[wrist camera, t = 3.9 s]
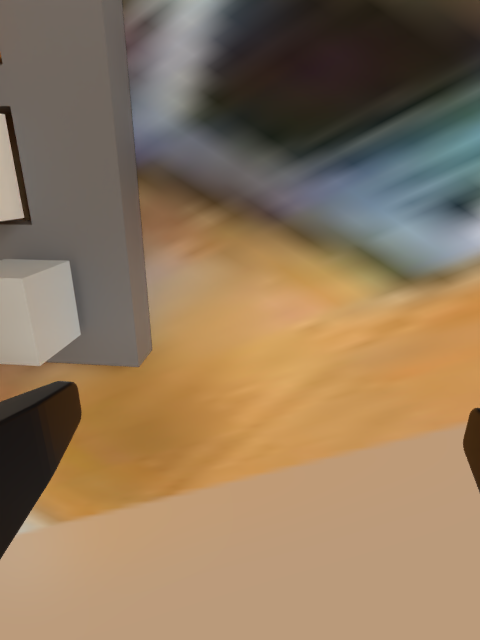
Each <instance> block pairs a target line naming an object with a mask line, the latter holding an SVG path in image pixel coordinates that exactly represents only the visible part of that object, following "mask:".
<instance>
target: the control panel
mask: <svg viewBox="0 0 480 640" xmlns="http://www.w3.org/2000/svg"><path fill="white" fill-rule="evenodd" d="M0 53H1V59H2V64H0V113H1V114H12V118H13V124H14V129H15V135H16V140H17V146H18V151H19V157H20V162H21V167H22V173H23V178H24V184H25V189H26V195H27V200H28V206H29V211H30V216H31V220H7V221H0V260H3V259H26V260H67V261H69V262H70V269H71V275H72V281H73V288H74V294H75V301H76V307H77V314H78V320H79V326H80V333H81V335H80V336H78V337H77V338H76V339H75V340H73V341H72V342H71V343H69V344H68V345H67V346H65V347H64V348H63V349H62V350H60V351H59V352H58V353H56V354H55V355H54V356H52V357H51V358H50V359H49V360H47V361H46V362H54V363H73V364H92V365H110V366H129V367H139V366H140V365H141V364H142V362H143V361H144V360H145V358H146V357H147V356H148V355H149V353H150V352H151V351H152V342H151V330H150V319H149V307H148V296H147V284H146V273H145V261H144V250H143V238H142V227H141V215H140V203H139V192H138V180H137V169H136V157H135V146H134V134H133V123H132V111H131V100H130V88H129V76H128V65H127V53H126V42H125V30H124V19H123V7H122V0H0Z"/></svg>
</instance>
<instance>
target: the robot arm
mask: <svg viewBox="0 0 480 640" xmlns="http://www.w3.org/2000/svg"><path fill="white" fill-rule="evenodd" d="M80 420H81V405H80V399H79V393H78V388H77V385H76V384H75V383H74V382H66V381H57V382H54V383H51V384H48V385H45V386H43V387H40V388H37V389H34V390H32V391H29V392H26V393H23V394H21V395H18V396H15V397H12V398H10V399H7V400H4V401H2V402H0V559H1V557H2V556H3V554H4V553H5V551H6V550H7V548H8V546H9V545H10V543H11V542H12V540H13V538H14V537H15V535H16V534H17V532H18V531H19V529H20V527H21V526H22V524H23V523H24V521H25V520H26V518H27V516H28V515H29V513H30V512H31V510H32V508H33V507H34V505H35V504H36V502H37V501H38V499H39V497H40V496H41V494H42V493H43V491H44V489H45V488H46V486H47V485H48V483H49V481H50V480H51V478H52V476H53V474H54V472H55V471H56V469H57V467H58V465H59V463H60V461H61V459H62V457H63V455H64V453H65V451H66V449H67V447H68V445H69V443H70V441H71V439H72V437H73V435H74V433H75V431H76V429H77V427H78V425H79V423H80ZM463 447H464V451H465V454H466V457H467V459H468V462H469V465H470V468H471V470H472V473H473V475H474V478H475V481H476V484H477V487H478V489H479V492H480V408H475V409H473V410H472V411H471V413H470V415H469V419H468V423H467V427H466V431H465V435H464V439H463Z"/></svg>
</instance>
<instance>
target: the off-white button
mask: <svg viewBox="0 0 480 640" xmlns="http://www.w3.org/2000/svg"><path fill="white" fill-rule="evenodd" d="M20 218H24V214H23V208H22V203H21V198H20V192H19V187H18V182H17V177H16V171H15V166H14V161H13V156H12V150H11V145H10V140H9V134H8V129H7V124H6V119H5V114H1V113H0V221H7V220H13V219H20Z"/></svg>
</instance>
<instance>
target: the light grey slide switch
mask: <svg viewBox="0 0 480 640" xmlns="http://www.w3.org/2000/svg"><path fill="white" fill-rule="evenodd" d="M80 335H81V333H80V326H79V320H78V314H77V307H76V301H75V294H74V288H73V281H72V275H71V269H70V262H69V261H67V260H26V259H3V260H0V364H11V365H30V366H41V365H42V364H43V363H45V362H46V361H47V360H49V359H50V358H51V357H52V356H54V355H55V354H56V353H58V352H59V351H60V350H62V349H63V348H64V347H65V346H67V345H68V344H69V343H71V342H72V341H73V340H75V339H76V338H77V337H78V336H80Z"/></svg>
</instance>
